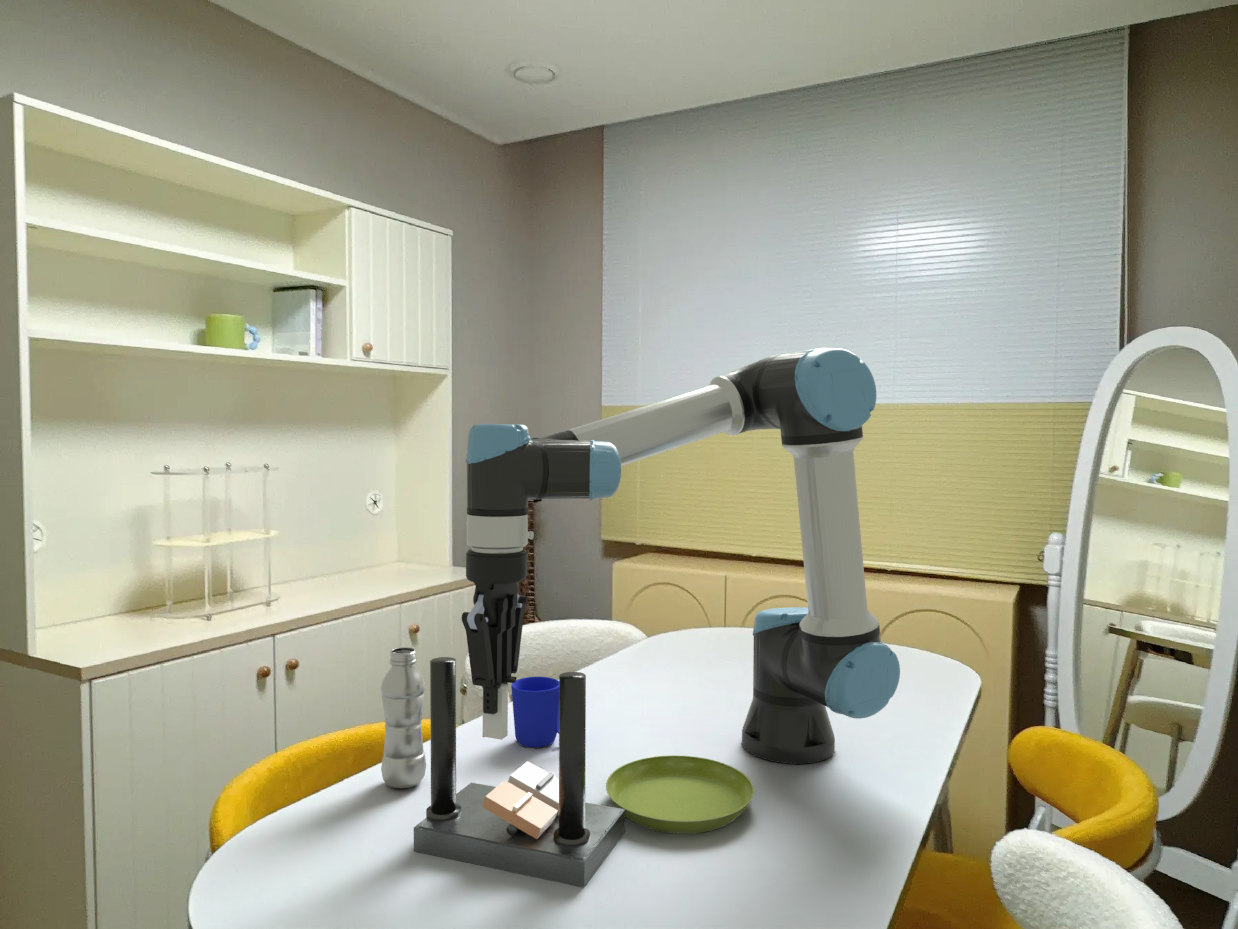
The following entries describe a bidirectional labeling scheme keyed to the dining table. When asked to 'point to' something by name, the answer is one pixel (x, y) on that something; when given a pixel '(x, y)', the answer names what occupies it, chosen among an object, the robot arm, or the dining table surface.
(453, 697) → the twin post stand
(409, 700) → the plastic bottle
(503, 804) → the paddle
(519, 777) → the paddle
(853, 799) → the dining table surface
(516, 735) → the mug
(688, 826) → the saucer
